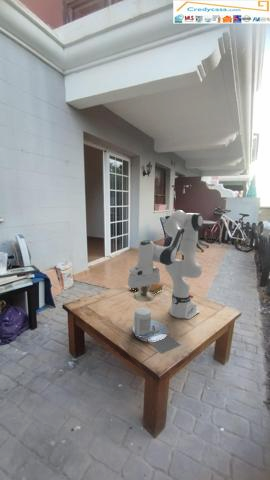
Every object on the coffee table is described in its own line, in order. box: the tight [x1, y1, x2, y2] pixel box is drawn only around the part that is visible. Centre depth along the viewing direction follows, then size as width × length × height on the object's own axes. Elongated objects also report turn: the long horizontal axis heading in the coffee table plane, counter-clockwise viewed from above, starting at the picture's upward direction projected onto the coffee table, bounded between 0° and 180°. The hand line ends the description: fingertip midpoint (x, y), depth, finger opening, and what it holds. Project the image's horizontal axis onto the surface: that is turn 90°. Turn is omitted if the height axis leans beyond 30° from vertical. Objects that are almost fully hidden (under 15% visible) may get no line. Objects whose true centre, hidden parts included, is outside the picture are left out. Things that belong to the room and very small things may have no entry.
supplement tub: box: [133, 307, 152, 338], centre depth 128 cm, size 10×10×15 cm
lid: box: [133, 286, 155, 302], centre depth 125 cm, size 12×12×6 cm
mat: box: [147, 334, 181, 354], centre depth 121 cm, size 14×14×1 cm
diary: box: [131, 283, 164, 294], centre depth 196 cm, size 23×19×6 cm
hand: (144, 292), depth 125 cm, fingers closed on lid, 3 cm apart
